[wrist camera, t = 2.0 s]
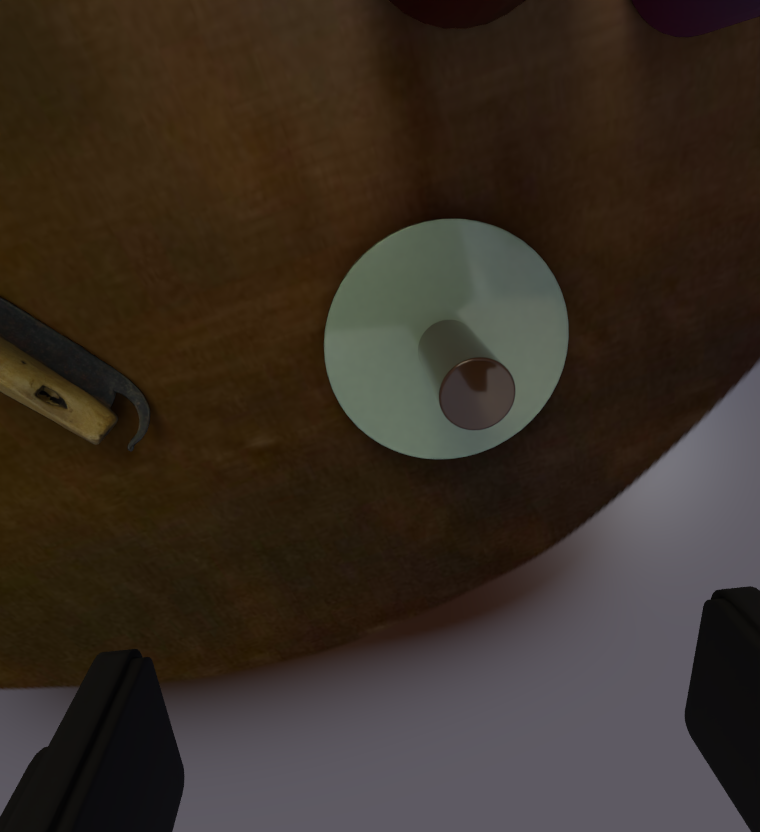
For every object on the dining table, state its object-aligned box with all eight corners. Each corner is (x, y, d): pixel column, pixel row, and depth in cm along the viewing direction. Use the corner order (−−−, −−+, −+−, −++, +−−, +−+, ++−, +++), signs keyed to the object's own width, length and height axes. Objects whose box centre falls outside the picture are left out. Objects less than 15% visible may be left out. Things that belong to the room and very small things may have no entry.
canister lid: (603, 283, 23) (699, 317, 17) (487, 478, 26) (531, 568, 20) (387, 171, 21) (405, 162, 15) (288, 397, 24) (268, 469, 18)
